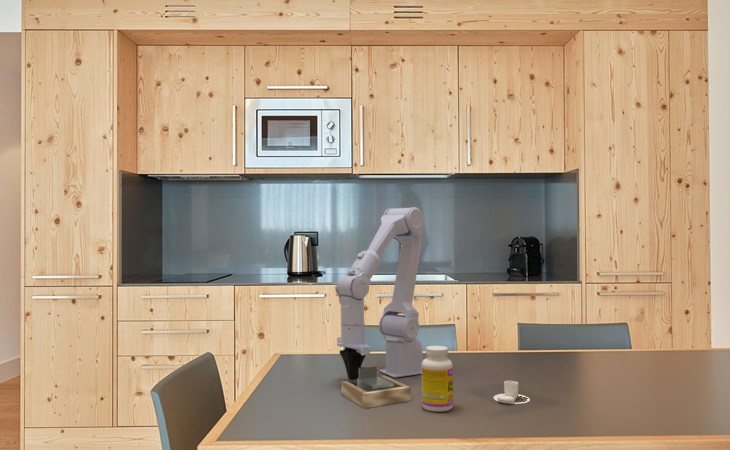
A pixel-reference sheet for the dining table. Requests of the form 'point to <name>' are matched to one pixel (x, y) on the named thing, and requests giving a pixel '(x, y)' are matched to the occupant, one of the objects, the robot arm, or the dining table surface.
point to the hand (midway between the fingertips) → (353, 379)
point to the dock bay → (377, 394)
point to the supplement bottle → (437, 380)
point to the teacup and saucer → (510, 393)
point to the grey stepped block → (372, 380)
